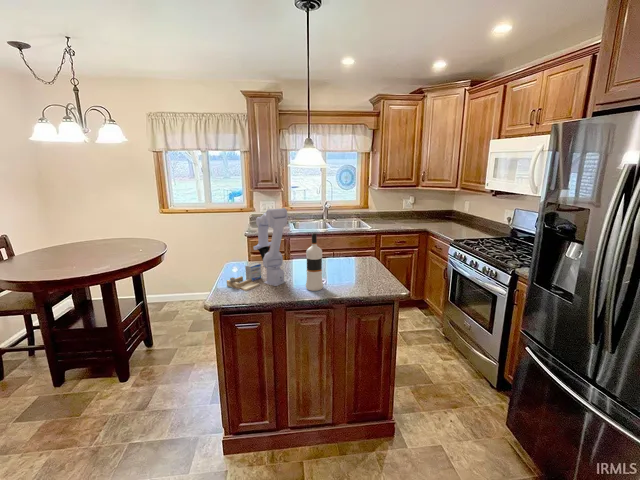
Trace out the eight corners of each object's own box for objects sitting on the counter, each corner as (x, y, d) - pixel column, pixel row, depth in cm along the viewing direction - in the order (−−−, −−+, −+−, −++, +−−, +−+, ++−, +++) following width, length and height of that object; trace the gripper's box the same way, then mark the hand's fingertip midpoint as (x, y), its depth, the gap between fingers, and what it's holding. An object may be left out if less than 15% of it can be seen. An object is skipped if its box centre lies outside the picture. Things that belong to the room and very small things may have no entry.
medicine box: (251, 281, 182) (250, 267, 180) (245, 280, 184) (245, 265, 182) (261, 277, 188) (260, 263, 186) (256, 276, 190) (255, 262, 188)
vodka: (313, 292, 165) (313, 236, 159) (302, 288, 172) (301, 233, 165) (326, 288, 172) (326, 233, 165) (315, 283, 178) (314, 230, 171)
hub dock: (259, 285, 176) (259, 276, 175) (244, 291, 167) (243, 282, 166) (241, 280, 184) (241, 271, 183) (226, 286, 175) (225, 277, 174)
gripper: (266, 234, 196) (267, 255, 199) (249, 238, 184) (250, 261, 187) (275, 235, 192) (276, 257, 195) (257, 239, 181) (259, 263, 184)
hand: (264, 259), depth 191 cm, fingers closed
